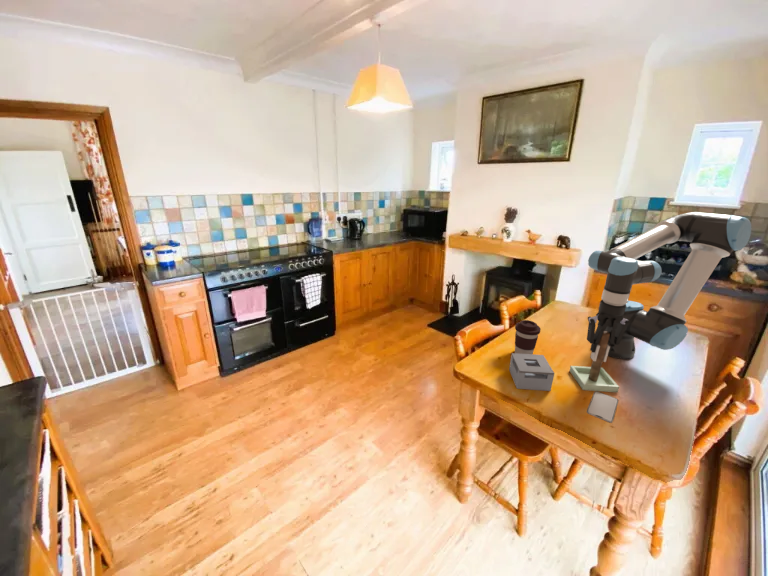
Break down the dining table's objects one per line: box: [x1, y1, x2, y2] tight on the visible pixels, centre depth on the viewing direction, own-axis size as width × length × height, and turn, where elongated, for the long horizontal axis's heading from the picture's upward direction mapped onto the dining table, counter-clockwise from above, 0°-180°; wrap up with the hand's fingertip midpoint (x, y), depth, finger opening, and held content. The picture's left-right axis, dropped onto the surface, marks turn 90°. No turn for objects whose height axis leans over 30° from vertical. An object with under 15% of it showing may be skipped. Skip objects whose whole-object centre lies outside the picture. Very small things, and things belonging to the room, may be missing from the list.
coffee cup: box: [514, 319, 541, 354], centre depth 140 cm, size 10×10×15 cm
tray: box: [569, 365, 620, 393], centre depth 124 cm, size 12×12×2 cm
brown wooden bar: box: [588, 331, 610, 381], centre depth 120 cm, size 3×3×20 cm
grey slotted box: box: [508, 352, 555, 392], centre depth 124 cm, size 12×12×8 cm
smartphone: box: [586, 391, 620, 424], centre depth 111 cm, size 7×1×15 cm
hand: (598, 359), depth 121 cm, fingers closed on brown wooden bar, 3 cm apart
